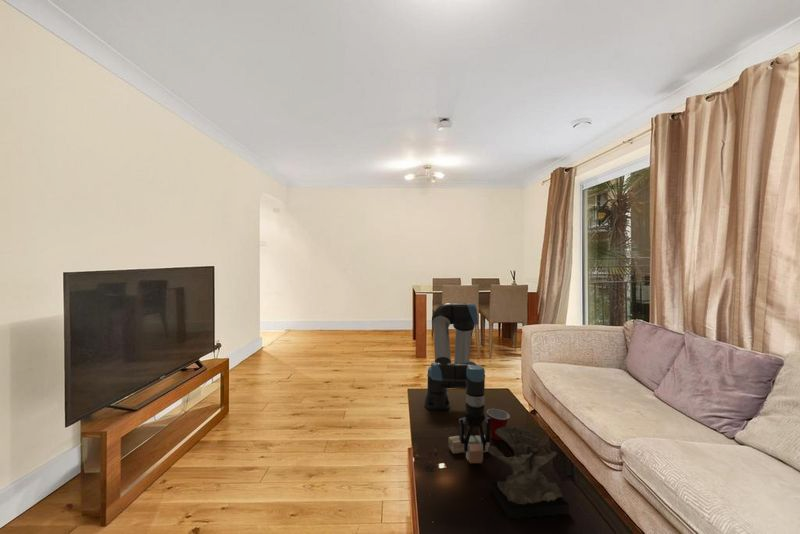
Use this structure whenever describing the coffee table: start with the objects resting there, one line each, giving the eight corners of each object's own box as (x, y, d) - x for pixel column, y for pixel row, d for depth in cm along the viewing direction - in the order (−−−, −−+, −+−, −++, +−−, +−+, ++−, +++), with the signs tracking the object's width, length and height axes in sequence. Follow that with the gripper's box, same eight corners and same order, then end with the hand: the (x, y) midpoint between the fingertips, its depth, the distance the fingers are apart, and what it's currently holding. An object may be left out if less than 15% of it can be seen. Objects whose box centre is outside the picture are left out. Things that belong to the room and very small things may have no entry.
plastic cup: (511, 444, 155) (511, 418, 155) (487, 442, 156) (487, 417, 156) (507, 432, 165) (507, 408, 165) (485, 431, 167) (485, 407, 167)
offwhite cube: (474, 446, 153) (474, 435, 153) (484, 445, 154) (484, 434, 154) (478, 452, 148) (479, 441, 148) (489, 451, 149) (489, 440, 149)
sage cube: (462, 446, 153) (462, 435, 153) (473, 446, 153) (473, 435, 153) (464, 452, 148) (464, 441, 148) (475, 452, 148) (475, 441, 148)
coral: (497, 520, 109) (498, 455, 109) (477, 479, 129) (478, 424, 129) (570, 515, 111) (571, 451, 111) (539, 477, 131) (540, 422, 131)
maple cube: (448, 447, 152) (448, 437, 151) (458, 446, 153) (458, 435, 153) (453, 453, 147) (453, 442, 147) (463, 452, 148) (463, 441, 148)
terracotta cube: (466, 456, 142) (466, 444, 142) (478, 455, 142) (478, 444, 142) (470, 463, 137) (470, 451, 137) (482, 462, 137) (482, 450, 137)
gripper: (456, 408, 134) (455, 465, 135) (499, 406, 136) (498, 462, 137) (451, 400, 142) (451, 454, 143) (492, 399, 144) (491, 452, 144)
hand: (474, 458), depth 140 cm, fingers closed on terracotta cube, 5 cm apart
